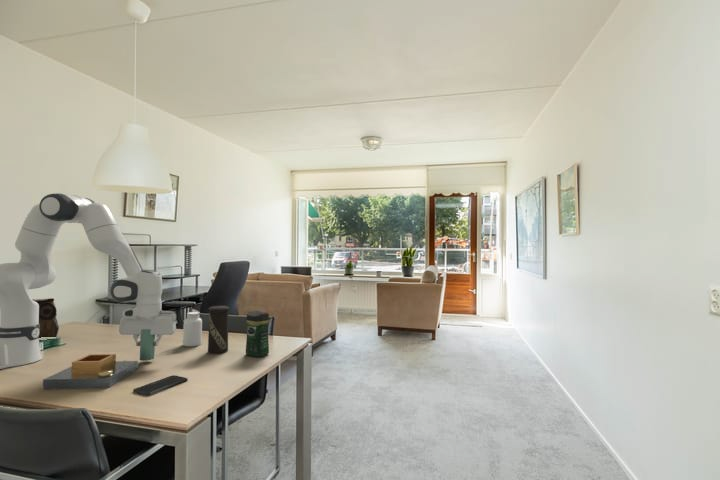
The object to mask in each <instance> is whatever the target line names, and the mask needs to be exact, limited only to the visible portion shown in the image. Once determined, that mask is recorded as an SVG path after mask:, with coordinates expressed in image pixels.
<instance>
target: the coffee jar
mask: <svg viewBox="0 0 720 480" xmlns="http://www.w3.org/2000/svg"><path fill="white" fill-rule="evenodd" d="M245 322H246V341H245V342H246V343H245V355H246V356H249V357H253V358H254V357H255V358H259V357H266V356H267V355H268V354H269V353H270V347H269V346H270V344H269V343H270V342H269V324H270V313H268V312H265V311H260V310H252V311H249V312H248V313H247V314H246V319H245Z"/></svg>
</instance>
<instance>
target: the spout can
mask: <svg viewBox="0 0 720 480" xmlns="http://www.w3.org/2000/svg"><path fill="white" fill-rule="evenodd" d="M150 332H151V329H141V335H140V338H139V339H140V346H139V360H140V361H142V362H144V361H145V362H147V361H150V360H155V350H156V348H155V347H156V346H153V342H154V341H156V335H151V333H150Z"/></svg>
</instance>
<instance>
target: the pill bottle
mask: <svg viewBox="0 0 720 480" xmlns="http://www.w3.org/2000/svg"><path fill="white" fill-rule="evenodd" d="M182 328H183V330H182V333H183V334H182V345H183V346H184V347H197V346H199V345H201V344H202V334H203V319H202V318H201V317H200V312H198V311H190V312H187V313H186V319H184V321H183V327H182Z"/></svg>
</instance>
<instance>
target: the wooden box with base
mask: <svg viewBox="0 0 720 480" xmlns="http://www.w3.org/2000/svg"><path fill="white" fill-rule="evenodd" d="M116 358H117V354H116V353H101V354H99V353H98V354H97V353H95V354H92V353H91V354H90V353H89V354H87V355H84V356H83V357H80V358H77V359H76V360H74V361H71V365H70V367H67V368H65V369H63V370H60V371H58V372H56V373H54V374H52V375H50V376H48V377H45V378H44V379H42V390H58V389H59V390H60V389H61V390H63V389H95V388H97V389H98V388H99V389H102V388H106V389H107V388H111V387H113V386H114V385H115V384H117V383H119V382H120V381H122V380H123V379H125V378H126V377H128V376H130V375H131V374H133V373H134V372H135V371H137V370H138V369H139V361H138V360H125V361H124V360H122V361H121V360H119V361H116V360H117V359H116Z"/></svg>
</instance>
